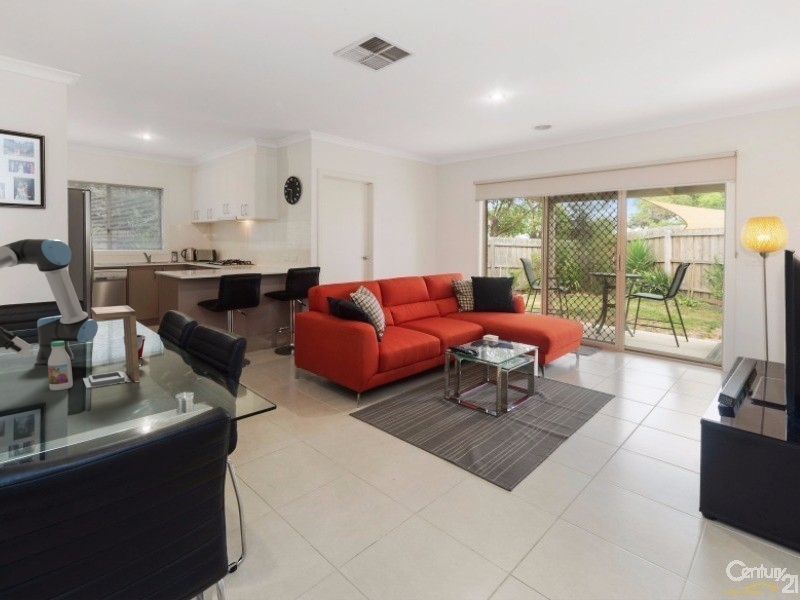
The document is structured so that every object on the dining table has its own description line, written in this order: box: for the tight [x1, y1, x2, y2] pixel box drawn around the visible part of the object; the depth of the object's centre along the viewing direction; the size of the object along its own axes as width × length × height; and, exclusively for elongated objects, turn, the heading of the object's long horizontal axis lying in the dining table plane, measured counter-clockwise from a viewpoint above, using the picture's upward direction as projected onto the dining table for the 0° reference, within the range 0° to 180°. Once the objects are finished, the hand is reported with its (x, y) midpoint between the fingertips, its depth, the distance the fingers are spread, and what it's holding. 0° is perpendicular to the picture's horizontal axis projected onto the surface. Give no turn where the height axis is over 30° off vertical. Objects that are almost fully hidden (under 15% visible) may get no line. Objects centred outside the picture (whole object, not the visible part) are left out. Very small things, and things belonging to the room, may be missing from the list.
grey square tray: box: [82, 370, 132, 390], centre depth 193 cm, size 16×16×2 cm
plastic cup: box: [122, 334, 147, 359], centre depth 229 cm, size 11×11×12 cm
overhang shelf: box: [90, 305, 140, 382], centre depth 193 cm, size 20×14×32 cm
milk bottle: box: [47, 341, 74, 391], centre depth 181 cm, size 8×8×20 cm
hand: (29, 351), depth 174 cm, fingers open, 13 cm apart
